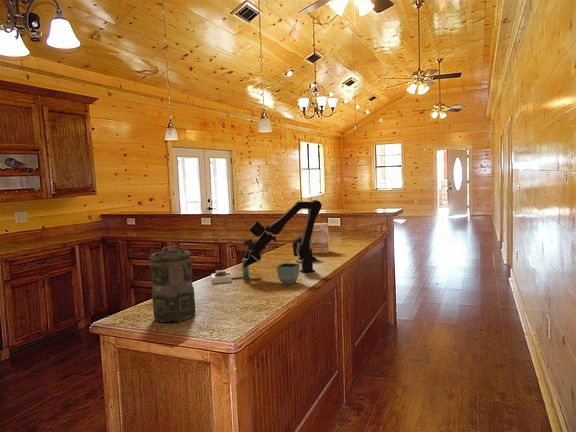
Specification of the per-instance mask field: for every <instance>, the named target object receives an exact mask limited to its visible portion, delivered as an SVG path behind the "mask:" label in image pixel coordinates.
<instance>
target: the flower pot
mask: <svg viewBox="0 0 576 432" xmlns="http://www.w3.org/2000/svg"><path fill="white" fill-rule="evenodd" d="M276 272H277V275H278V279H279V281H280V282H281V284H282V285H292V284H294V283H296V282H297V280H298V278H299V275H300V263H290V262H289V263H287V262H286V263H284V262H283V263H281V264H279V265H277V266H276Z"/></svg>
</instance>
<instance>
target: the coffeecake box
mask: <svg viewBox="0 0 576 432" xmlns="http://www.w3.org/2000/svg"><path fill="white" fill-rule="evenodd" d="M305 226H306V224H304V227H305ZM329 236H330V235H329V222H315V223H314V227H313V231H312V254H329V252H330V239H329V238H330V237H329Z"/></svg>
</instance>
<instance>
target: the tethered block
mask: <svg viewBox="0 0 576 432" xmlns="http://www.w3.org/2000/svg"><path fill="white" fill-rule="evenodd" d="M246 261H247V259H244V258H243V259H241V266H242V267H241V268H242V276H238V277H237V276H236V277H231V280H238V279H239V280H240V279H242V280H249V279H251V275H250V272H249V266H247V267H244V264H245V262H246ZM226 272H227V271H226V269H220V270H215V273H216V277H220V276H226Z"/></svg>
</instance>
